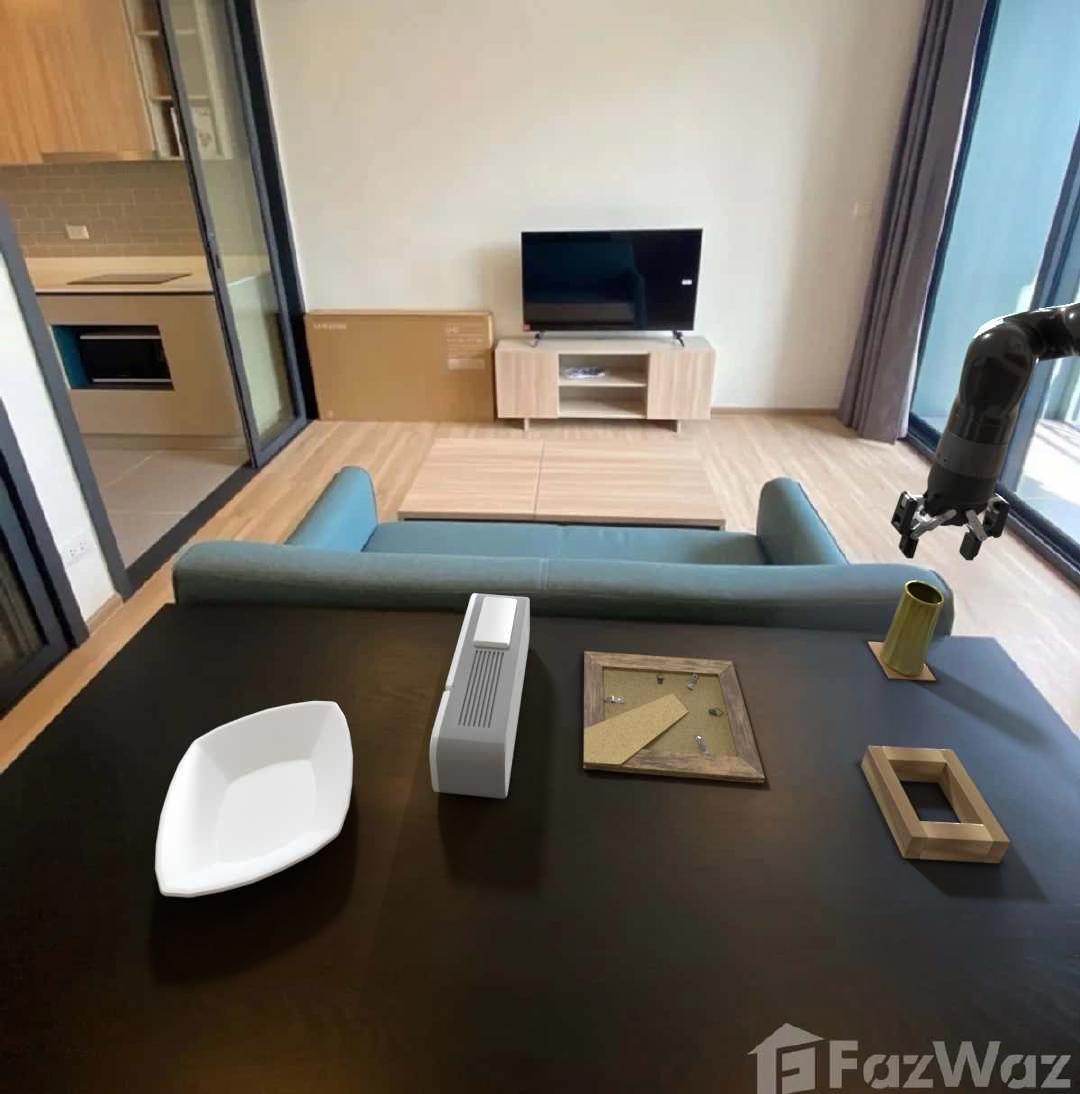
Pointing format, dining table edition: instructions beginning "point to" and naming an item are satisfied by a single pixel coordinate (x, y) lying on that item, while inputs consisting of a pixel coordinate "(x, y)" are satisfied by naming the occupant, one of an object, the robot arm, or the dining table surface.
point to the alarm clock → (482, 699)
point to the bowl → (254, 799)
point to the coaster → (894, 674)
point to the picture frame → (667, 718)
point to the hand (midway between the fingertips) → (936, 555)
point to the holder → (978, 825)
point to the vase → (912, 628)
